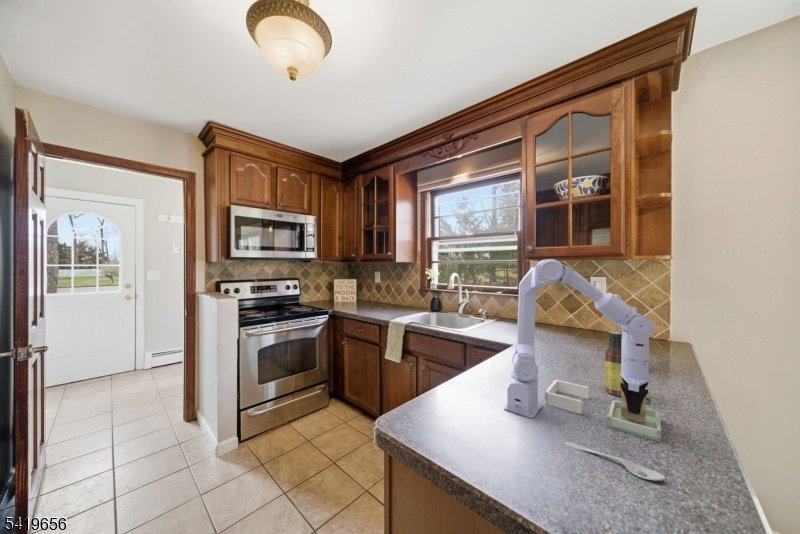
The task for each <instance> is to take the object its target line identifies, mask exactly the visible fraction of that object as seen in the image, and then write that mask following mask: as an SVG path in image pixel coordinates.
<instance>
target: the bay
mask: <svg viewBox="0 0 800 534" xmlns="http://www.w3.org/2000/svg"><path fill="white" fill-rule="evenodd" d="M589 388H590V387H589V386H587V385H586V386H585V385H581V384H577V383H572V382H568V381H564V380H561V379H560V380H559V379H554V380H553V381H552V383H551V384H550V385H549V386H548V387H547V389H546V391H545V392H544V404H545V405H547V406H551V407H556V408H559V409H561V410H565V411H568V412H572V413H576V414H579V415H582V414H583V401H582V400H580V399H577V398H572V397H568V396H565V395H561V394H557V392H559V393H562V394H567V395H570V396H575V397H579V398H583V399H586V400H589V397H590V395H589V392H590V391H589Z"/></svg>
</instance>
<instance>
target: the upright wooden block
mask: <svg viewBox="0 0 800 534" xmlns="http://www.w3.org/2000/svg"><path fill="white" fill-rule="evenodd" d="M620 402H621V416H622V417H625V418H629V419H633V420H637V421H640V422H644V423H646V408H647V407H646V406H647V405H648V406H651V405H652V399H651V398H649V397H647V395H646V396H645V398H644V400H643V402H642V406H641V410H640V413H639V415H637V414H633V413H629V411H628V408H627V403H626V398H625V395H624V393H623V391H622V392H621V396H620Z"/></svg>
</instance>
